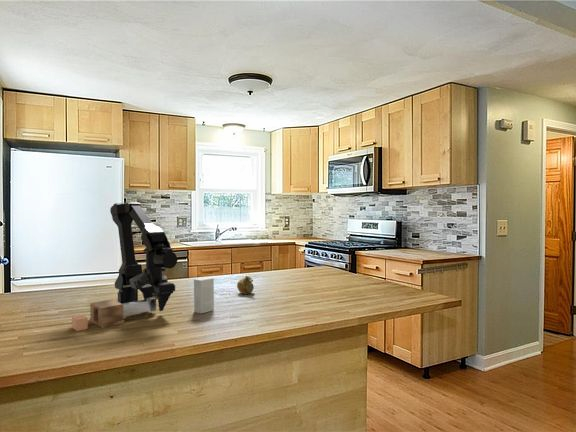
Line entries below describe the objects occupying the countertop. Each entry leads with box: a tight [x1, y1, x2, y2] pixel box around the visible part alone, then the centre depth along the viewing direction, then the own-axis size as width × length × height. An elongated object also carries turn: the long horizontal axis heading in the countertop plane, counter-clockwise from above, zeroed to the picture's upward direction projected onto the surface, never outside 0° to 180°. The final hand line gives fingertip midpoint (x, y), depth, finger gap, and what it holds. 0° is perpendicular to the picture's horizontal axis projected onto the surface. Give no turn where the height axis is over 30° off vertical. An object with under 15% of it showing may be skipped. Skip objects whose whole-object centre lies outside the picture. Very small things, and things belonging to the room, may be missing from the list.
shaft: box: [123, 296, 157, 317], centre depth 138 cm, size 18×3×4 cm, turn 137°
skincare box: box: [193, 276, 215, 314], centre depth 147 cm, size 6×4×12 cm
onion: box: [236, 275, 255, 295], centre depth 177 cm, size 8×8×8 cm
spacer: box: [71, 314, 88, 332], centre depth 126 cm, size 4×4×3 cm
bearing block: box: [89, 299, 125, 329], centre depth 132 cm, size 7×10×6 cm
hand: (154, 308), depth 145 cm, fingers open, 9 cm apart
